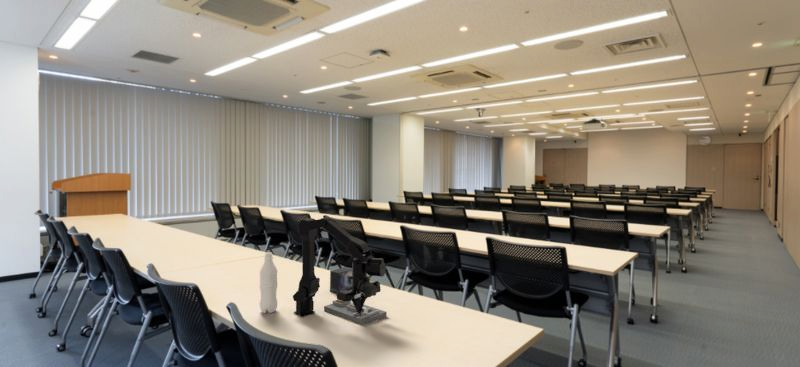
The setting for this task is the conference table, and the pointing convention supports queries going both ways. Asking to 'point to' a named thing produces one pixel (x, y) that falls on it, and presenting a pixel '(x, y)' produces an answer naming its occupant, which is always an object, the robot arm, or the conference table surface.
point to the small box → (340, 279)
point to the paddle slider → (364, 311)
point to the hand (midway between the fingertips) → (359, 313)
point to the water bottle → (268, 285)
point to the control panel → (354, 312)
